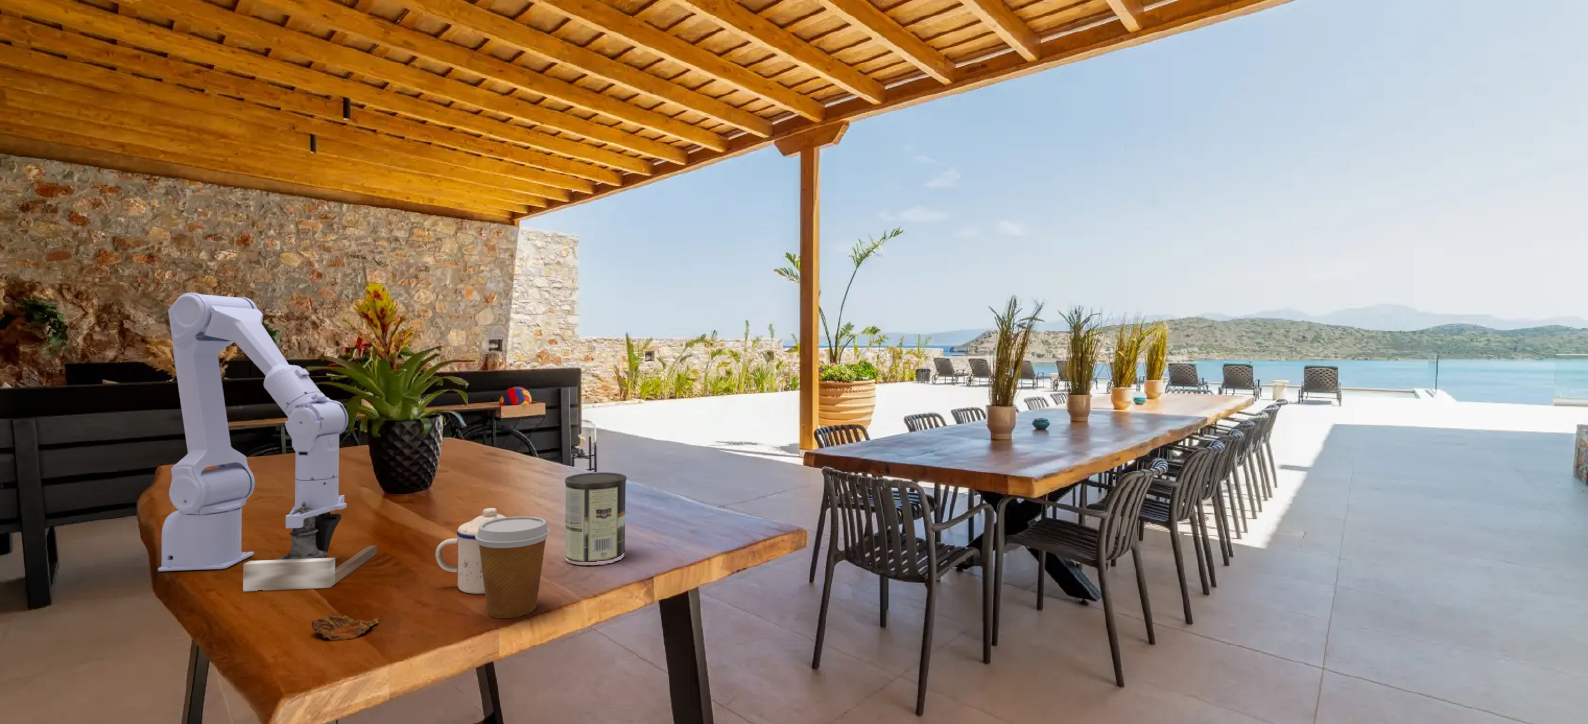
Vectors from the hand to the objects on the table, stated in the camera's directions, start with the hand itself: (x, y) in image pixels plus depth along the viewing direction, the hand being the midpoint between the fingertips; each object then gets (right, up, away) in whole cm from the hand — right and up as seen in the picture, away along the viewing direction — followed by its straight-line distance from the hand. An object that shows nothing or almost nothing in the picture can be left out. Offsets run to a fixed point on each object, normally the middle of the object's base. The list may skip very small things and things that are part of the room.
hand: (316, 561), depth 109 cm
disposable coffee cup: (+38, -3, -15) cm, 40 cm away
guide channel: (0, -1, 0) cm, 1 cm away
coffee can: (+42, -2, +10) cm, 43 cm away
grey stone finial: (+1, -2, -4) cm, 4 cm away
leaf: (+20, -3, -22) cm, 30 cm away
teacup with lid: (+29, -2, -5) cm, 29 cm away
